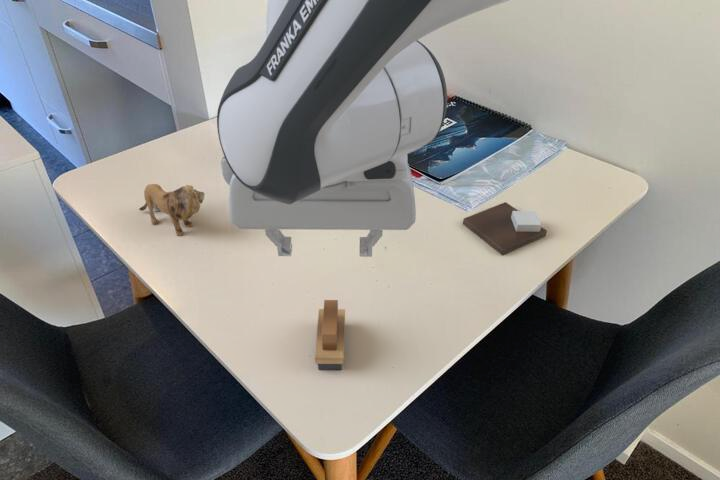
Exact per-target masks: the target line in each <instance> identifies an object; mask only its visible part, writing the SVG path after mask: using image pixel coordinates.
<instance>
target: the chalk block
mask: <svg viewBox="0 0 720 480" xmlns="http://www.w3.org/2000/svg"><path fill="white" fill-rule="evenodd" d="M511 219H512V222H513V224H514V227H515V230H516V232H540V229H541V227H542V222H541V220H540V218H539V216H538V213H537V211H536V210H518V211H512V215H511Z"/></svg>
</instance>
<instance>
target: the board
mask: <svg viewBox="0 0 720 480" xmlns="http://www.w3.org/2000/svg"><path fill="white" fill-rule="evenodd" d="M512 211H519V210H518V209H516V208H515V207H513V206H512V205H510V204H509V203H508V202H506V201H505V202H502V203H499V204H497V205H494V206H491V207H489V208H487V209H484V210H482V211H479V212H477V213H474V214H472V215H469V216H467V217H463V219H462V225H463V226H465V227H466V228H467V229H469V230H470V231H471V232H472V233H473V234H475V235H476V236H477V237H478V238H480V239H481V240H482V241H483V242H484V243H486V244H487V245H488V246H490V247H491V248H492V249H493V250H495V251H496V252H498V253H499V254H500V255H501V256H505V255H507V254H509V253H512V252H513V251H516V250H517V249H520V248H523V247H525V246H527V245H529V244H531V243H533V242H535V241H538V240H541V239H542V238H545V237H546V236H547V233H548V230H547V229H546V228H544V227H542V226H541V229H540V232H516V230H515V227H514V224H513V222H512V219H511V215H512Z"/></svg>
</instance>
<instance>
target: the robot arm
mask: <svg viewBox="0 0 720 480" xmlns="http://www.w3.org/2000/svg"><path fill="white" fill-rule="evenodd" d="M508 1H509V2H510V0H267V5H266V23H265V25H266V30H265V31H266V32H265V33H266V35H265V36H266V37H265V41H264V42H263V44H262V45H261V47H260V49H259V51H258V52H257V53H256V54H255V56H254V57H253V59H251V60H250V61H249V62H248V63H245V64H244V65H242V66H240V67H238V68H237V69H236V70H235V71H234V73H233V74H232V76H231V77H230V79H229V81H228V83H227V85H226V86H225V89H224V90H223V93H222V96H221V97H220V101H219V104H218V108H217V113H216V114H217V115H216V128H217V134H218V140H219V144H220V147H221V150H222V154H223V157H222V159H221V161H220V167H221V173H222V177H223V180H224V181H225V183H226V184H227V185H228V186H229V190H228V206H229V208H228V209H229V218H230V222H231V223H232V224H233V225H234V226H235V227H236V228H238V229H239V230H264V232H265V236H266V237H267V238H268V239H269V240H270V241H271V242H272V243H273V245H274V246H275V247H277V256H278V257H292V252H293V240H292V236H285V235H284V234H283V232H282V231H281V230H307V231H308V230H309V231H310V230H314V231H315V230H317V231H318V230H321V231H322V230H325V231H326V230H329V231H331V230H335V231H337V230H340V231H343V230H344V231H369V232H368V234H367V236H359V257H361V258H362V257H364V258H365V257H366V258H371V257H373V247H375V245H376V244H377V243H378V241H379V240H380V239H381V238H382V237H383V231H407V230H409V229H410V228H411V227H413V226H414V225H415V224H416V218H417V217H416V216H417V215H416V214H417V209H416V208H417V207H416V196H415V188H414V181H413V175H412V170H411V167H410V164H409V163H408V161H409V159H408V155H409V154H412V153H414V152H416V151H418V150H419V149H421V148H423V147H425V146H427V145H430V144H431V143H432V142H434V141H435V139H436V138H437V137H438V136H439V133H440V132H441V130H442V127H443V125H444V122H445V118H446V114H447V108H448V89H447V83H446V77H445V75H444V71H443V69H442V66H441V65H440V62H439V61H438V59H437V57H436V56H435V55H434V53H433V52H432V51H431V50H430V49H429V48H428V47H427V46H426V45H425V44H423V43H422V42H420V41H419V40H421V39H422V38H423V37H426V36H427V35H430V34H431V33H433V32H435V31H437V30H438V29H441V28H443V27H445V26H448V25H450V24H451V23H453V22H456V21H459V20H460V19H463V18H465V17H468V16H470V15H473V14H475V13H478V12H480V11H483V10H486V9H489V8H491V7H494V6H497V5H500V4H503V3H506V2H508Z"/></svg>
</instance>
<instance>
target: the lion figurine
mask: <svg viewBox="0 0 720 480" xmlns="http://www.w3.org/2000/svg"><path fill="white" fill-rule="evenodd" d="M143 192H144V193H143V197H144V201H145V203H144V205H143V206H141V207H140V208H138V210H139V211H142V212H143V211H145V210H146V209H147V208H148V214H149V217H150V222H151V225H157V224H158V223H159V220H158V218H156V216H155V212H160V211H161V212H162V213H164V214H165V215H168V216H169V218H170V220H171V222H172V225H173V227H174V230H175V234H176V236H177V237H181V236H183V235H184V234H185V232H184V231H183V228H182V227H181V224H180V221H182V223H183V226H184V227H187V228H191V227H192V226H193V222H192V221H189V219H191V218H192V217H193V216H194V215H195V214H197V213H198V212H199V211H200V209H201V204H203V203H204V200H205V192H204V191H199V190H197V189H194V186H193V185H189V184H186V185H182V186H180V187H178V188H177V189H175V190H173V191H168V192H167V191H165V190H164V189H163V188H162V187H161V185H159V184H156V183H149V184H147V185H146V186H145V188H144V191H143Z"/></svg>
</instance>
